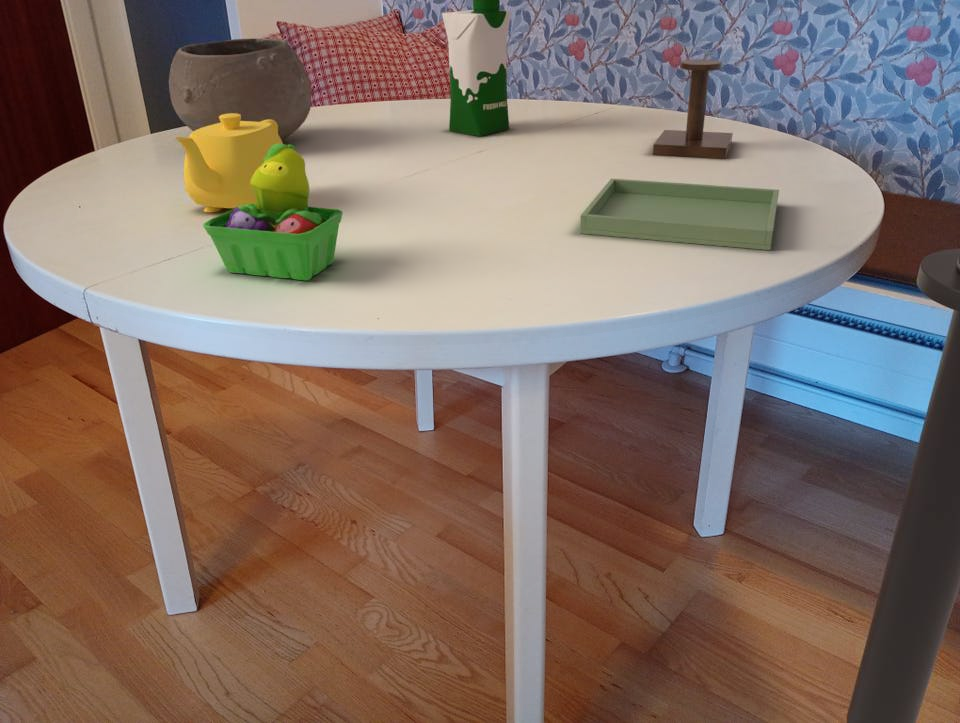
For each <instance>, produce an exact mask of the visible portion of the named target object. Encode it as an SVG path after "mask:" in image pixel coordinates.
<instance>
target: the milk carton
mask: <svg viewBox="0 0 960 723" xmlns="http://www.w3.org/2000/svg"><path fill="white" fill-rule="evenodd" d="M441 16H442V20H443V25H444V29H445V33H446V38H447V43H448V44H447V45H448V64H449V66H448V67H449V89H450V90H449V92H450V105H449V107H450V108H449V125H448V126H449V127H448V129H449V130H448V131H449V132H454V133H459V134H464V135H470V136H475V137H484V136H487V135H491V134H496V133H499V132H503V131H508V130H510V121H509V120H510V118H509V106H508V104H509V103H508V68H507V67H508V63H507V62H508V60H507V59H508V57H507V54H508V52H507V50H508V48H507V47H508V45H507V42H508V35H509V34H508V33H509V28H510V22H511V16H512V11H511V10H503V9H502V10H501V9H500V0H472V9H467V10H460V11H451V12H450V11H449V12H442V13H441Z"/></svg>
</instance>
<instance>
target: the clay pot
mask: <svg viewBox="0 0 960 723" xmlns="http://www.w3.org/2000/svg"><path fill="white" fill-rule="evenodd" d="M307 74H308V73H307V71H306V69H305V66H304V64H303V62H302V61H301V58H300V56H298V54H297V52H296V51H295V49H294V48H293V47H292V46H291V45H290V44H289V43H288V42H287V41H285V39H281V38H234V39H227V40H219V41H211V42H202V43H193V44H188V45H184V46H183V47H179V48H178V50H177V51H176V52H175V55H174V56H173V58H172V61H171V64H170V70H169V77H168V91H169V96H170V101H171V105H172V108H173V109H174V112H175V113H176V115H177V116H178V118H179V119H180V120H181V121H182V122H183V124H185V126H186V127H187V128H188V129H189V130H191V131H192V132H193V131H195V130H197V129H200V128H203V127H206V126H209V125H213V124H217V123H221V121H220V119H219V116H220V115H223V114H229V113H237V114H240V115H241V120H240V121H253V122H261V121H263V120H267V119H271V120H274V121H276V123H277V125H278V135H279V137H280V139H281V140H282V141H283V140H284V139H286V138H288V137H289V136H291V135H292V134H294V133H295V132H296V131H298V130H299V128H300V127H302V125H303V124H304V123H305V121H306V120H307V118H308V116H309V114H310V111H311V106H312V87H311V83H310V79H309V77H308V75H307Z"/></svg>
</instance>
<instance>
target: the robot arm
mask: <svg viewBox="0 0 960 723" xmlns="http://www.w3.org/2000/svg"><path fill="white" fill-rule="evenodd" d="M956 270H957V272H958V273H959V274H960V257H959V258H958V260H957V264H956Z"/></svg>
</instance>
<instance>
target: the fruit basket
mask: <svg viewBox="0 0 960 723" xmlns="http://www.w3.org/2000/svg"><path fill="white" fill-rule="evenodd" d="M295 149H296V146H295V145H293V144H286V143H283V144H281V143H279V144H275V145H273V146H272V147H271V148H270V149H269V151H268V153H267V155H266V157H265V159H263V162H264V163H263V164H262V165H261V166H260V167H259V168H258V169H257V170H256V171H255V173H254V174H253V176H252V179H251V182H250V183H251V186H252V188H253V190H254V193H255V195H256V198H257V200H258V203H256V204H245V205H242V206H237V207H236V208H232V209H230V210H228V211H226V212H225V213H222V214H219V215H217V216H215V217H213V218H211V219H210V218H209V220H207V221H205V222H204V223H203V224H202V227H203V229H204V230H205V232H206V233H207V234H208V236H210V238H211V240H212V242H213V245H214V246H215V248H216V250H217V252H218V255H219V257H220V259H221V260H222V263H223V265H224V267H225V269H226V270H227V272H228V273H232V274H247V275H252V276H260V277H261V276H263V277H267V276H268V277H272V278H278V279H279V278H280V279H293V280H299V281H310V280H312V277H314V276H317V275H319V273H320V272H322V271H324V270H325V269H326V268H327V266H330V265H332V264H333V263H334V262H335V261H334V259H335V253H336V246H337V240H338V233H339V226H340V224H341V222H342V217H343V210H340V209H338V208H337V209H336V208H327V207H326V208H325V207H315V206H309V197H310V185H309V179H308V177H307V173H306V162H305V159H304V158H303V156H302V155H301V154H300V153H299V152H298V151H296V150H295Z"/></svg>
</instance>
